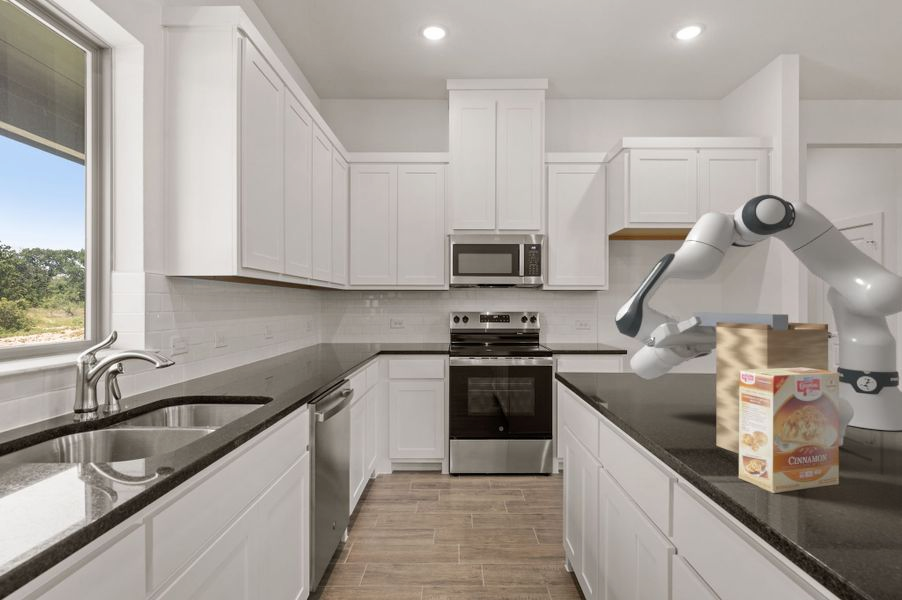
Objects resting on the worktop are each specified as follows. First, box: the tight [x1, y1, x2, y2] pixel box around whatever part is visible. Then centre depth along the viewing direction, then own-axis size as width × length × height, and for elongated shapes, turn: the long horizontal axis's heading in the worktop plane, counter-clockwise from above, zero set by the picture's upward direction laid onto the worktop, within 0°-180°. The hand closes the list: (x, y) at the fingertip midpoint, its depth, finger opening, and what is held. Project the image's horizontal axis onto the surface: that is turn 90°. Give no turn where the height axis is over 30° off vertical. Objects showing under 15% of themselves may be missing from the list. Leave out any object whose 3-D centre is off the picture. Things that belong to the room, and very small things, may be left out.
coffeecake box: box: [738, 367, 840, 494], centre depth 81 cm, size 15×7×20 cm, turn 105°
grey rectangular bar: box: [692, 312, 789, 330], centre depth 100 cm, size 20×4×3 cm, turn 16°
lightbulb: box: [839, 397, 854, 447], centre depth 100 cm, size 6×6×11 cm
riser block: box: [715, 322, 829, 455], centre depth 98 cm, size 12×16×27 cm
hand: (715, 319), depth 106 cm, fingers open, 8 cm apart
